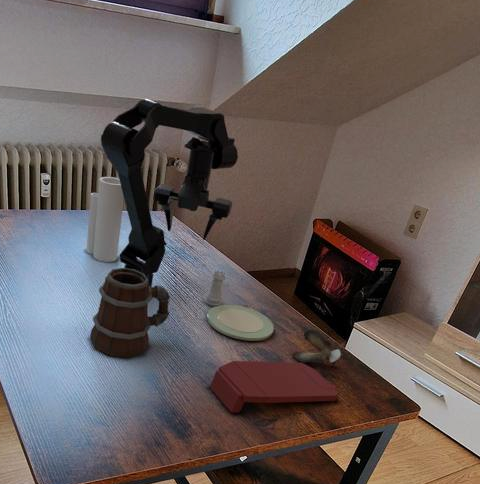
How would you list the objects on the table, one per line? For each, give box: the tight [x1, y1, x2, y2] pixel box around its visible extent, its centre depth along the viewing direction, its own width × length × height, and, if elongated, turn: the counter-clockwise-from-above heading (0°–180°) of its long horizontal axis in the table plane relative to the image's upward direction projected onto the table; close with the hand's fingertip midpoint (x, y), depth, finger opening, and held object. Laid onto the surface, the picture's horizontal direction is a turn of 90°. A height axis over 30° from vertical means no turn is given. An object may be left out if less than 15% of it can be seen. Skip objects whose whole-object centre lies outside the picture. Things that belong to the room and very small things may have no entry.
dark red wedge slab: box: [209, 360, 339, 413], centre depth 106 cm, size 12×5×25 cm
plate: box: [206, 304, 275, 342], centre depth 127 cm, size 16×16×1 cm
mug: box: [89, 267, 171, 359], centre depth 108 cm, size 16×12×15 cm
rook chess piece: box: [204, 270, 226, 307], centre depth 132 cm, size 4×4×8 cm
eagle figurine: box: [294, 328, 345, 368], centre depth 117 cm, size 8×7×9 cm
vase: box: [85, 176, 125, 263], centre depth 142 cm, size 11×7×20 cm, turn 30°
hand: (186, 235), depth 135 cm, fingers open, 9 cm apart
